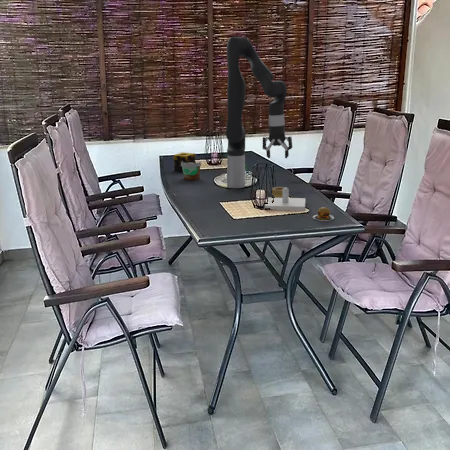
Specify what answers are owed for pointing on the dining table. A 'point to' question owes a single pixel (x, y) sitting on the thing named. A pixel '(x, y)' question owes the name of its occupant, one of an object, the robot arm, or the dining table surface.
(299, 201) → the post stand
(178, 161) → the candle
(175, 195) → the dining table surface
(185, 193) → the dining table surface
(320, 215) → the hamburger
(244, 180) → the robot arm
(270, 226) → the dining table surface
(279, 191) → the ring
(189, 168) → the food container
